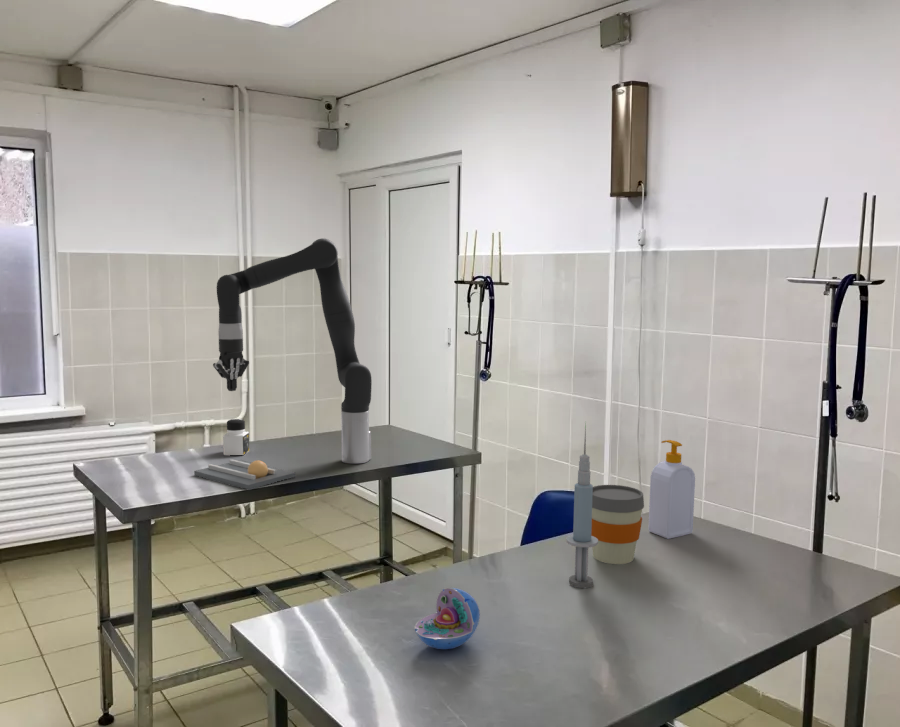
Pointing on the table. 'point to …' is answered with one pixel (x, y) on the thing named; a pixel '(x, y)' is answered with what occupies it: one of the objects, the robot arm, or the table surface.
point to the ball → (258, 469)
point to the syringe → (582, 523)
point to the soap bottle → (671, 496)
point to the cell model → (450, 620)
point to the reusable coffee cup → (616, 522)
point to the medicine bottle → (235, 438)
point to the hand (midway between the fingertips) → (232, 390)
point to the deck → (241, 474)
